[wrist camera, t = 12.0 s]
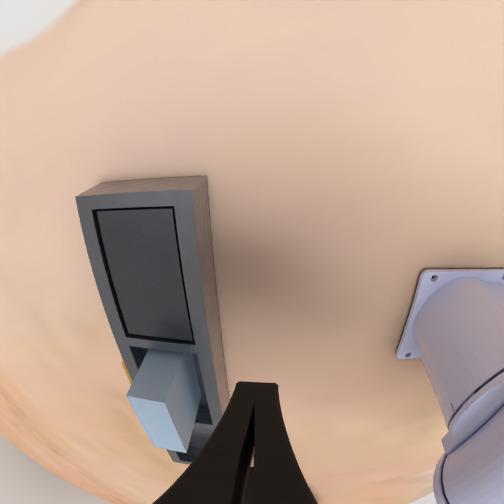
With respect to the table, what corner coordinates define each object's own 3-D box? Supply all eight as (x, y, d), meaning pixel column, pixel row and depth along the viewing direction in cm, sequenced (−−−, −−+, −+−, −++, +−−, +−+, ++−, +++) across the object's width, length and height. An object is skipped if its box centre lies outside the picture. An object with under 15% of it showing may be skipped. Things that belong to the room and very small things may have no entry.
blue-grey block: (188, 338, 21) (165, 403, 16) (201, 395, 24) (186, 452, 19) (155, 334, 21) (126, 395, 16) (173, 391, 24) (154, 446, 19)
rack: (206, 175, 17) (192, 189, 14) (236, 448, 30) (233, 470, 27) (94, 183, 17) (67, 197, 15) (174, 440, 31) (168, 460, 28)
